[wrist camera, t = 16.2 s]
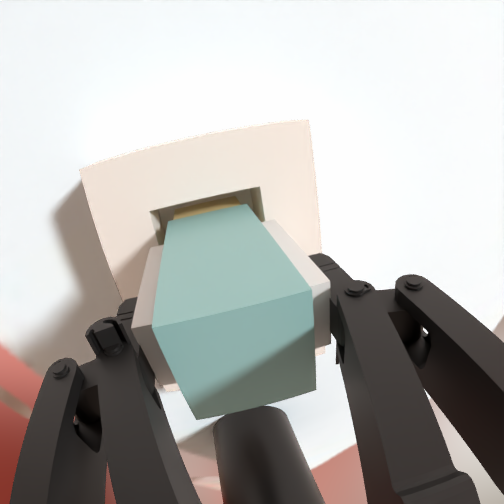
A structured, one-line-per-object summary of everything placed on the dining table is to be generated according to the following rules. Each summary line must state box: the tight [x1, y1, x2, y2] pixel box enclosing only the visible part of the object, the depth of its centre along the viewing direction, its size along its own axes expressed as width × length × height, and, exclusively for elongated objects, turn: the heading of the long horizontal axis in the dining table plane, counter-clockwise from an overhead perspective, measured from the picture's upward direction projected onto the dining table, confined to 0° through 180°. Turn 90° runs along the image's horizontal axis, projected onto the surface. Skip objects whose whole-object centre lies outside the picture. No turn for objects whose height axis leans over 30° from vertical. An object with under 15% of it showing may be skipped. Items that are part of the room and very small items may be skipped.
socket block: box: [79, 120, 325, 392], centre depth 19 cm, size 16×12×4 cm
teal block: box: [152, 196, 316, 420], centre depth 14 cm, size 4×4×12 cm
